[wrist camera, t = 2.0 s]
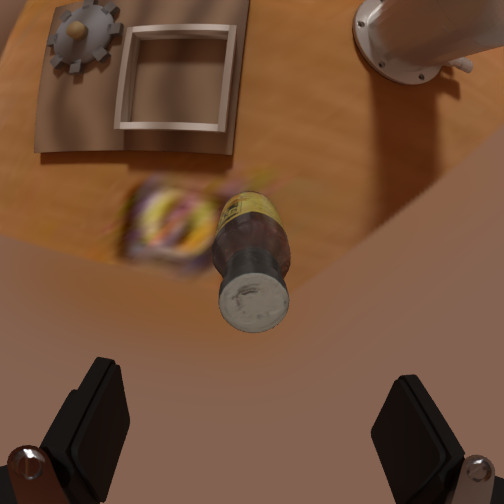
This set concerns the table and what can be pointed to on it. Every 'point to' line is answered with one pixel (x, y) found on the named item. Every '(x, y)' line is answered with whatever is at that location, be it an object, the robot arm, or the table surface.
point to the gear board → (142, 76)
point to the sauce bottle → (251, 263)
